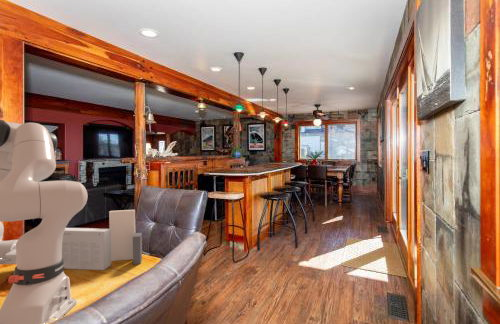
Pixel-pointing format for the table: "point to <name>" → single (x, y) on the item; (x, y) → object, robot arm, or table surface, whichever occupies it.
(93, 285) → the table surface
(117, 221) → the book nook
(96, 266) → the skincare box
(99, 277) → the table surface
